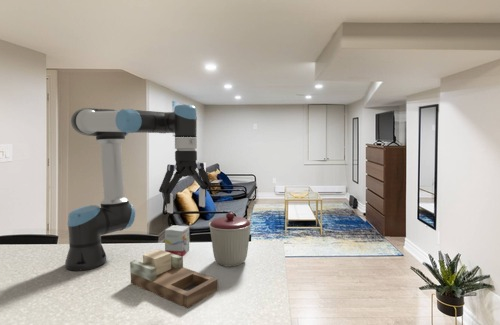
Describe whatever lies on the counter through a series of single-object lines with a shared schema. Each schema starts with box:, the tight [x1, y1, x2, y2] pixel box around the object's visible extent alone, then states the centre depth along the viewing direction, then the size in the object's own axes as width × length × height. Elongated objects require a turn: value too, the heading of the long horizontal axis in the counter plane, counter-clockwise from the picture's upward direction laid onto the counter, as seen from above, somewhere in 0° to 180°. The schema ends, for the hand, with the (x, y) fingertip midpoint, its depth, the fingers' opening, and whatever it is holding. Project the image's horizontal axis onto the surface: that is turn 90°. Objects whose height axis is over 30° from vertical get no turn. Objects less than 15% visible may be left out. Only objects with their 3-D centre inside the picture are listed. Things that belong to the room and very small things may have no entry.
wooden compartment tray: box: [129, 253, 219, 310], centre depth 109 cm, size 29×14×8 cm, turn 55°
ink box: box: [164, 224, 190, 258], centre depth 141 cm, size 9×9×12 cm
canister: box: [208, 212, 253, 267], centre depth 131 cm, size 18×18×21 cm
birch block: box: [142, 248, 171, 275], centre depth 114 cm, size 7×7×6 cm
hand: (186, 209), depth 111 cm, fingers open, 13 cm apart
